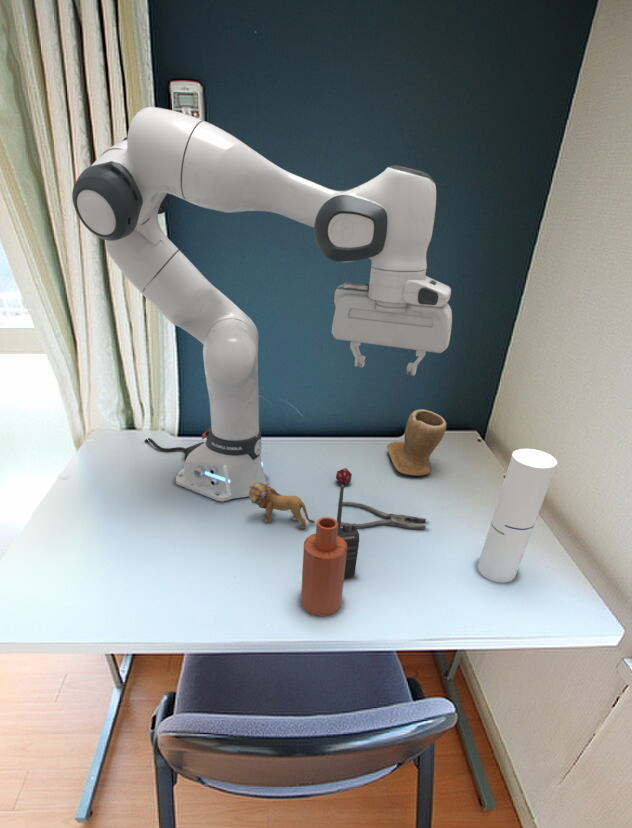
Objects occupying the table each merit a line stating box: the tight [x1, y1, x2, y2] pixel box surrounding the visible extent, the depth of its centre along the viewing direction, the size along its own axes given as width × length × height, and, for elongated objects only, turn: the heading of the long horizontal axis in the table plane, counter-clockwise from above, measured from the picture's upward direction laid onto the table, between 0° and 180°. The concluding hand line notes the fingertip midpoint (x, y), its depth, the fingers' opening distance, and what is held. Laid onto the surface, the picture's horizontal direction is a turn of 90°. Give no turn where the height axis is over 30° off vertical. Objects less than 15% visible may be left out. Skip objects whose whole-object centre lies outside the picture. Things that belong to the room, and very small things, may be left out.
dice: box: [335, 467, 352, 486], centre depth 127 cm, size 4×4×4 cm
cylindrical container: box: [477, 448, 558, 584], centre depth 94 cm, size 7×7×25 cm
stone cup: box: [386, 408, 447, 477], centre depth 133 cm, size 15×12×15 cm
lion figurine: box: [248, 483, 315, 530], centre depth 111 cm, size 15×5×9 cm, turn 81°
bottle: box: [300, 516, 347, 617], centre depth 88 cm, size 7×7×18 cm
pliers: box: [341, 501, 427, 530], centre depth 116 cm, size 10×1×20 cm
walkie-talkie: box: [336, 484, 360, 579], centre depth 94 cm, size 5×3×20 cm
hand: (384, 370), depth 92 cm, fingers open, 8 cm apart
